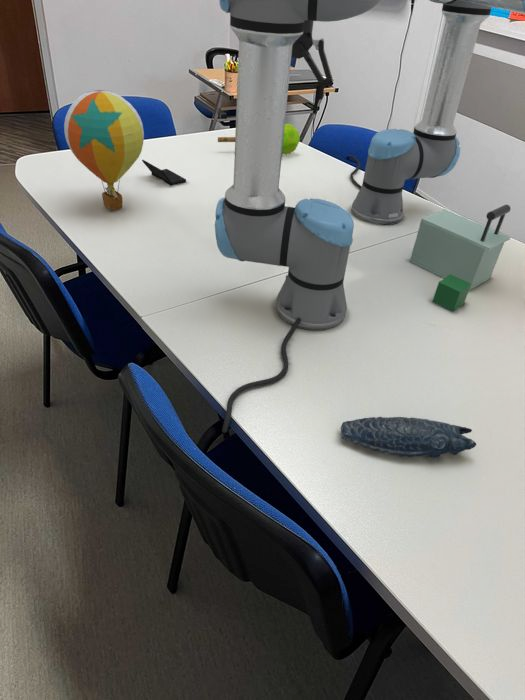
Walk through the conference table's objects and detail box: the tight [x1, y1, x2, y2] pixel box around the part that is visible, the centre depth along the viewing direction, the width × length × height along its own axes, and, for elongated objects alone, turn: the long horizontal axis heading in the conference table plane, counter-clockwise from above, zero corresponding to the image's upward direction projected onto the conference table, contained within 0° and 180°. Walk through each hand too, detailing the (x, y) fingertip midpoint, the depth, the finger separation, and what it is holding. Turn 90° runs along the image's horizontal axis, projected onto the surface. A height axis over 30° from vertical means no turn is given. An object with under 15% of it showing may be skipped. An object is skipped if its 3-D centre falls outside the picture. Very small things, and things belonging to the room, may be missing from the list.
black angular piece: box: [141, 159, 187, 187], centre depth 162 cm, size 12×7×10 cm
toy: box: [63, 89, 145, 212], centre depth 136 cm, size 20×20×30 cm
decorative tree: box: [217, 123, 301, 155], centre depth 187 cm, size 18×10×30 cm
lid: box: [420, 204, 511, 251], centre depth 122 cm, size 18×10×8 cm, turn 42°
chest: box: [409, 221, 505, 292], centre depth 129 cm, size 17×10×11 cm, turn 42°
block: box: [431, 275, 471, 312], centre depth 118 cm, size 5×5×5 cm
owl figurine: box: [340, 416, 477, 458], centre depth 82 cm, size 7×21×5 cm, turn 84°
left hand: (288, 109), depth 135 cm, fingers open, 13 cm apart
